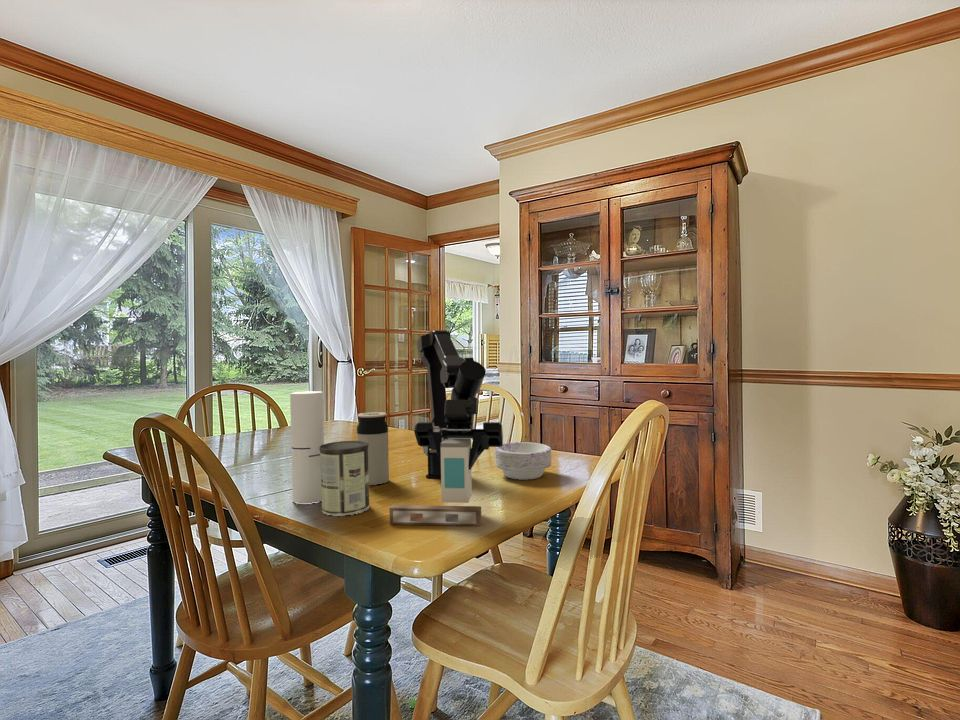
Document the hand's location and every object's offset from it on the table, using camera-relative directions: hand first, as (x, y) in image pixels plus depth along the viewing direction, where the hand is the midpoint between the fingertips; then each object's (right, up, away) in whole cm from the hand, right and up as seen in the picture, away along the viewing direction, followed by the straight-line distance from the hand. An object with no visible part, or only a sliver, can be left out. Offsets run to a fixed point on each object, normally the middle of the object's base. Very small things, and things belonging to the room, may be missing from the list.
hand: (455, 468), depth 102 cm
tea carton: (0, -7, +1) cm, 7 cm away
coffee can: (-24, -11, +6) cm, 27 cm away
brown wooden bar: (-4, -10, -4) cm, 11 cm away
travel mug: (-23, -10, +29) cm, 38 cm away
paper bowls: (+17, -9, +33) cm, 38 cm away
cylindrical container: (-35, -11, +14) cm, 39 cm away
